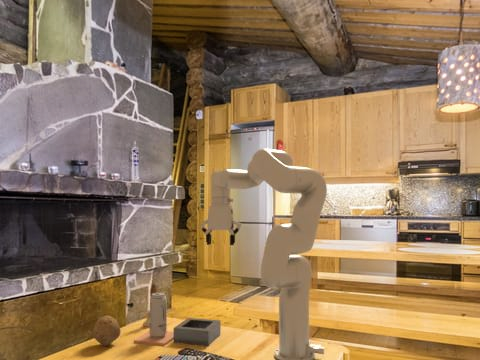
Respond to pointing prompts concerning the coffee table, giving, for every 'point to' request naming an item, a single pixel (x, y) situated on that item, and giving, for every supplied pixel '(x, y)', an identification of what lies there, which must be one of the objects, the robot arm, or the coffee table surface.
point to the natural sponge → (106, 330)
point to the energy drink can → (158, 315)
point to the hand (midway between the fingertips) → (220, 244)
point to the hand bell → (147, 322)
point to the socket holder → (197, 331)
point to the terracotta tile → (159, 341)
